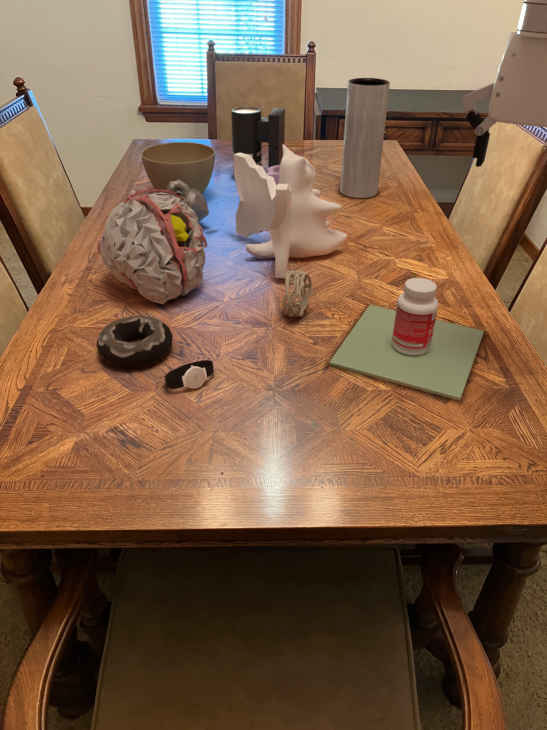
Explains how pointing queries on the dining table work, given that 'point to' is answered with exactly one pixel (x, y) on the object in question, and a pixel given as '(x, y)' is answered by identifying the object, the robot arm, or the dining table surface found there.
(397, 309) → the pill bottle
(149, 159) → the flower pot
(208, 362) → the watch
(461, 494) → the dining table surface
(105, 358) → the donut
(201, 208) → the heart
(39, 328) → the dining table surface
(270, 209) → the white spiky figurine
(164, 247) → the decorative sculpture
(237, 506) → the dining table surface
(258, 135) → the light fixture
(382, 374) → the mat
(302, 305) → the bracelet
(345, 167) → the planter
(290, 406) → the dining table surface
